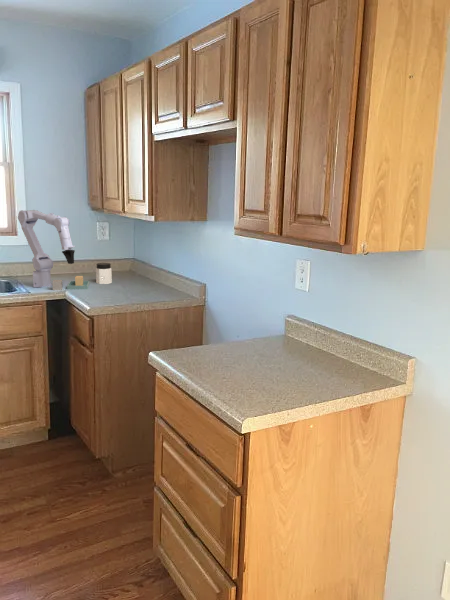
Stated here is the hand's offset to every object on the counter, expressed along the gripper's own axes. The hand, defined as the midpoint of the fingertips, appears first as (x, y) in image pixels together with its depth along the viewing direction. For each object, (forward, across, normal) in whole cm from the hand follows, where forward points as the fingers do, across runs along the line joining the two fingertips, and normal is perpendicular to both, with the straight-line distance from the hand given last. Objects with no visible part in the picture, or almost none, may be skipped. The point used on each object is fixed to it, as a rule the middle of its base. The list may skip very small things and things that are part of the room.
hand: (71, 263), depth 284 cm
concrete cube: (+13, +2, +11) cm, 17 cm away
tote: (+14, +9, 0) cm, 17 cm away
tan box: (+12, +14, 0) cm, 19 cm away
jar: (+15, +21, -13) cm, 29 cm away
